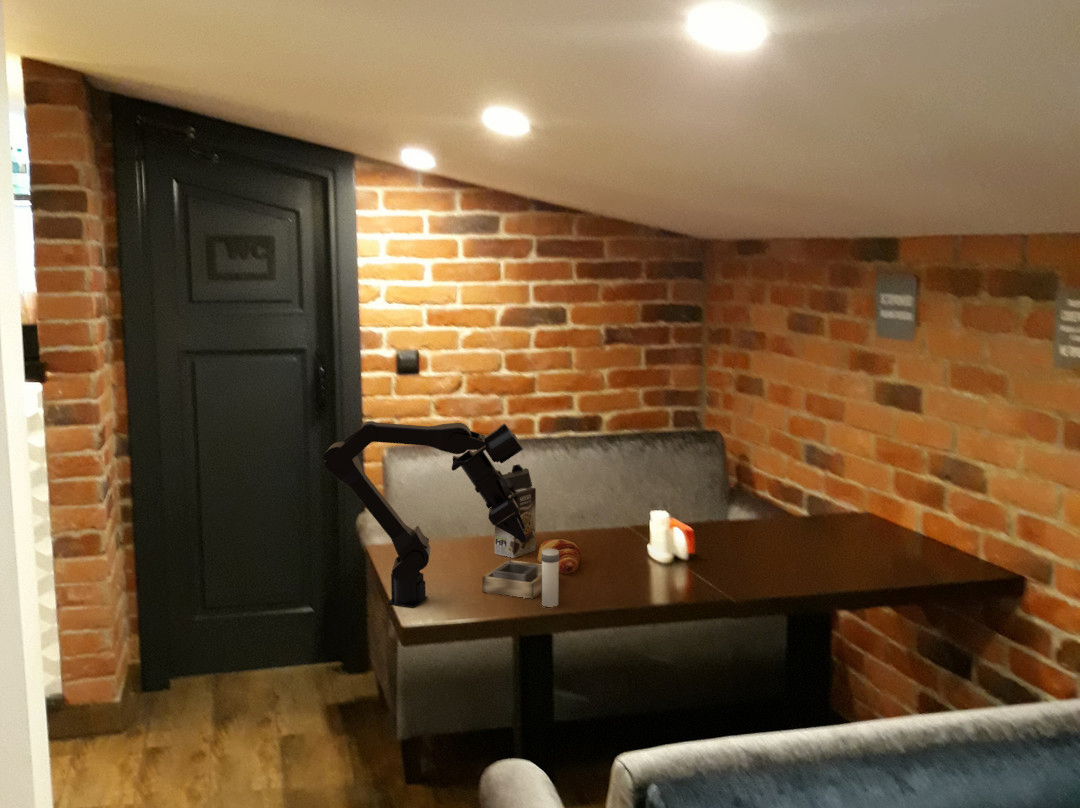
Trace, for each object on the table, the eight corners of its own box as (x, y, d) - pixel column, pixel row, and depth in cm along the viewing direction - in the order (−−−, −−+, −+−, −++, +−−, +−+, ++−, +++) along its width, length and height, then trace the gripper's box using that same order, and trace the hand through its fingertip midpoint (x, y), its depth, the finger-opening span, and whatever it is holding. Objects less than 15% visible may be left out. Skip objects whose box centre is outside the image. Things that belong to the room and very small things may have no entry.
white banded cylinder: (541, 608, 226) (541, 553, 224) (542, 602, 230) (542, 548, 228) (558, 608, 226) (558, 553, 224) (559, 602, 229) (559, 548, 228)
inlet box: (482, 592, 236) (482, 571, 235) (508, 574, 249) (508, 554, 248) (532, 599, 232) (532, 578, 231) (556, 580, 244) (556, 560, 244)
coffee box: (514, 558, 261) (514, 494, 259) (493, 554, 265) (493, 490, 263) (536, 550, 268) (536, 487, 266) (516, 546, 272) (516, 484, 270)
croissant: (536, 567, 267) (521, 540, 265) (570, 546, 268) (556, 519, 266) (560, 591, 246) (544, 563, 244) (597, 569, 248) (582, 540, 246)
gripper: (516, 463, 217) (558, 525, 219) (514, 446, 235) (552, 503, 238) (470, 493, 217) (513, 555, 220) (472, 474, 236) (511, 530, 238)
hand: (524, 534), depth 229 cm, fingers open, 9 cm apart
